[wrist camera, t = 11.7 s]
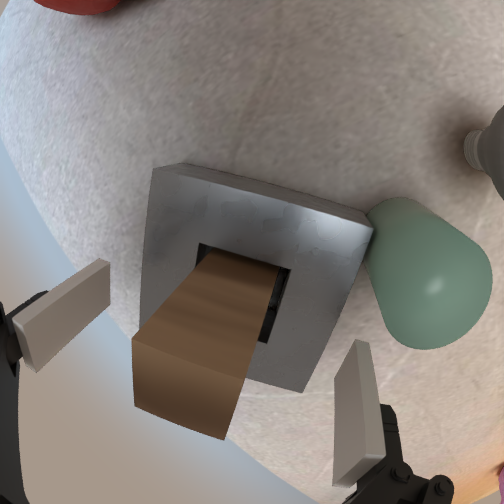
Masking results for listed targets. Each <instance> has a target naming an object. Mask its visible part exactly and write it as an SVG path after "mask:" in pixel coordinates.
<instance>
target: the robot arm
mask: <svg viewBox="0 0 504 504" xmlns="http://www.w3.org/2000/svg"><path fill="white" fill-rule="evenodd" d="M109 305H110V262H108V261H105V260H102V259H100V258H99V259H98V260H96V261H94V262H93V263H91V264H90V265H88V266H87V267H85V268H84V269H82V270H80V271H79V272H77V273H76V274H74V275H73V276H71V277H70V278H68V279H67V280H65V281H64V282H63V283H61V284H59V285H58V286H56V287H55V288H53V289H52V290H51V291H47V290H46V291H43V292H40V293H37V294H36V295H34V296H33V297H31V298H30V300H27V301H26V302H25V303H23V304H21V305H20V306H18V307H17V308H16V309H15V310H13V311H12V312H10V313H9V314H7V315H6V316H5V312H4V308H3V304H2V303H1V302H0V504H29V502H28V500H27V498H26V496H25V492H24V487H23V480H22V473H21V464H20V452H19V434H18V389H19V371H20V363H19V359H20V358H21V357H22V356H23V359H24V362H25V364H26V366H27V367H29V368H30V369H31V370H33V371H34V372H36V373H37V372H38V371H39V370H40V369H41V368H42V367H43V366H45V364H46V363H48V362H49V361H50V360H51V359H52V358H53V357H54V356H55V355H56V354H57V353H58V352H59V351H60V350H61V349H62V348H63V347H64V346H65V345H66V344H68V343H69V342H70V341H71V340H72V339H73V338H74V337H75V336H76V335H77V334H78V333H79V332H81V331H82V330H83V329H84V328H85V327H86V326H87V325H88V324H89V323H90V322H91V321H93V320H94V319H95V318H96V317H97V316H98V315H99V314H100V313H101V312H102V311H104V310H105V309H106V308H107V307H108V306H109ZM334 389H335V423H334V462H333V482H332V486H336V487H346V488H350V487H351V486H353V485H354V484H355V483H356V482H357V490H356V491H355V492H354V493H352V494H351V495H350V496H348V497H347V498H346V500H345V501H344V502H343V503H342V504H451V502H452V498H453V494H454V485H453V482H452V481H451V480H450V478H448V477H447V476H445V475H436V476H434V477H433V478H432V479H430V480H428V479H425V478H422V477H419V476H416V475H414V474H413V471H412V469H411V467H410V466H409V465H408V464H407V463H405V462H404V461H403V456H402V449H401V442H400V436H399V433H398V432H399V430H398V426H397V418H396V414H395V412H394V411H393V409H392V407H391V406H390V405H385V404H380V403H379V396H378V390H377V384H376V378H375V372H374V366H373V361H372V356H371V350H370V345H369V343H368V342H364V341H360V340H356V339H355V341H354V343H353V345H352V346H351V348H350V350H349V352H348V354H347V356H346V358H345V360H344V362H343V363H342V365H341V367H340V369H339V371H338V373H337V374H336V376H335V378H334Z"/></svg>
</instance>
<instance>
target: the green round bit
mask: <svg viewBox="0 0 504 504" xmlns="http://www.w3.org/2000/svg"><path fill="white" fill-rule="evenodd" d="M366 218H367V219H368V221H369V222H370V224H371V225H372V227H373V228H374V229H373V232H372V235H371V238H370V240H369V243H368V246H367V249H366V251H365V254H364V257H363V261H364V264H365V267H366V269H367V272H368V275H369V278H370V280H371V283H372V286H373V289H374V292H375V295H376V298H377V301H378V304H379V307H380V310H381V313H382V316H383V319H384V322H385V325H386V327H387V329H388V331H389V332H390V334H391V335H392V336H393V337H394V338H395V339H396V340H397V341H398V342H400V343H401V344H403V345H405V346H407V347H410V348H414V349H420V350H428V349H435V348H440V347H443V346H446V345H448V344H450V343H452V342H454V341H456V340H458V339H459V338H461V337H462V336H463V335H465V334H466V333H467V332H468V331H469V330H470V329H471V328H472V327H473V326H474V325H475V324H476V323H477V321H478V320H479V319H480V317H481V316H482V314H483V312H484V310H485V308H486V306H487V304H488V301H489V298H490V295H491V291H492V269H491V265H490V262H489V259H488V257H487V255H486V254H485V252H484V251H483V249H482V248H481V247H480V246H479V245H478V244H476V243H475V242H474V241H472V240H471V239H470V238H468V237H467V236H466V235H464V234H463V233H462V232H460V231H459V230H458V229H456V228H455V227H453V226H452V225H450V224H449V223H448V222H446V221H445V220H443V219H442V218H440V217H439V216H437V215H436V214H434V213H433V212H431V211H430V210H428V209H427V208H425V207H424V206H422V205H421V204H419V203H418V202H416V201H414V200H411V199H408V198H392V199H388V200H385V201H383V202H381V203H379V204H378V205H376V206H375V207H374V208H373V209H372V210H371V211H370V212H369V213H368V214H367V216H366Z"/></svg>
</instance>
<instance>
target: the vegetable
mask: <svg viewBox="0 0 504 504" xmlns="http://www.w3.org/2000/svg"><path fill="white" fill-rule="evenodd" d="M34 1H35V2H36V3H38V4H40V5H42V6H44V7H47V8H50V9H53V10H56V11H60V12H64V13H68V14H75V15H95V14H98V13H101V12H105V11H109V10H111V9H112V8H113V7H115V6H116V5H117V4H118V3H119V2H120V1H121V0H34Z"/></svg>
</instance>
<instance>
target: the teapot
mask: <svg viewBox="0 0 504 504" xmlns="http://www.w3.org/2000/svg"><path fill="white" fill-rule="evenodd" d="M499 489H500V493H501V503H500V504H504V467H503V468H502V471H501V473H500V475H499Z"/></svg>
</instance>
